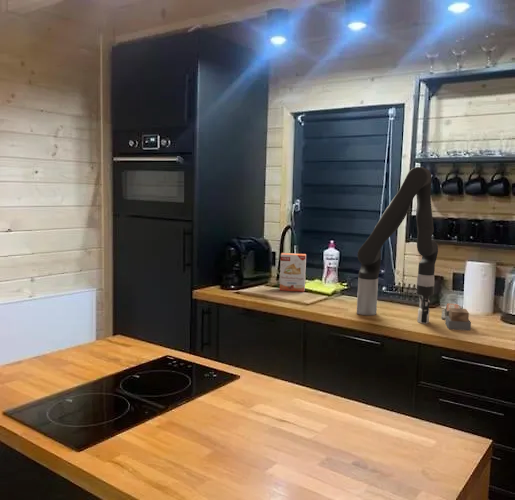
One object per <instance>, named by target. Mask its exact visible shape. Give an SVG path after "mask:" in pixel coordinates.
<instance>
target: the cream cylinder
mask: <svg viewBox="0 0 515 500" xmlns="http://www.w3.org/2000/svg"><path fill="white" fill-rule="evenodd" d="M424 311H426V310H424ZM430 311H431V310H430V308H429V311H428V312H429V313H428V315H427V322H426V323H423V322H422V321H421V319H422V309H421V308H418V309H417V321H416V322H417V323H418V324H424V325H427V324H429V323H430Z"/></svg>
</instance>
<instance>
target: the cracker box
mask: <svg viewBox="0 0 515 500" xmlns="http://www.w3.org/2000/svg"><path fill="white" fill-rule="evenodd" d="M306 266H307V254H306V253H292V252H291V253H289V252H281V253H280V266H279V268H280V269H279V271H280V272H279V291H287V292H288V291H289V292H300V293H301V292H302V293H304V292H305V290H306V270H307V269H306V268H307V267H306Z"/></svg>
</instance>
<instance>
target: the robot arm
mask: <svg viewBox="0 0 515 500" xmlns="http://www.w3.org/2000/svg"><path fill="white" fill-rule="evenodd" d="M431 191H432V173H431V171H430V170H429V169H428V168H426V167H421V166H416V167H415V166H414V167H413V168H411V169H410V170H409V171H408V172H407V174H406V177H405V178H404V180H403V182H402V184H401V185H400V188H399V190H398V192H397V193H396V195H395V196H394V197H393V198H392V200H391V201H390V203H389V204H388V206H387V207H386V208H385V210H384V212H383V213H382V215H381V217H380V219H379V220H378V222H377V223H376V225H375V226H374V229H373V231H372V232H371V233H370V235H369V236H368V238H367V239H366V240H365V242H364V243H363V244H362V245H361V246H360V247H359V249H358V251H357V254H356V255H357V260H358V262H359V263H361V265H360V269H359V271H358V274H357V275H358V276H357V278H358V281H357V294H356V295H357V296H356V297H357V299H356V314H357V315H362V316H375V315H377V308H378V287H379V274H380V271H381V261H382V252H381V249H382V247H383V245H384V244H385V242H386V241H387V240H388V239H389V238H390V237H392V235H393V234H394V233H395V232H396V231H397V230H398V229H399V228H400V226H401V225H402V223H403V221H404V220H405V219H406V217H407V214H408V212H409V210H410V206H411V204H412V201H413V200H414V198H415V196H416V210H415V211H416V212H415V213H416V214H415V216H416V218H415V219H416V227H417V234H416V235H417V236H416V237H417V238H416V248H417V252H418V254H419V255H420V256H421V260H420V261H419V262H418V266H417V267H418V269H417V277H416V290H415V291H416V292H415V293H416V294H417V295H419V304H418V305H419V306H418V307H419V308H421V309H422V319H421V321H422V322H423V323H426V322H427V315H428V313H429V314H430V312H428V311H429V309H430V302H431V301H430V298H429V297H430V296H433V295H435V294H434V293H435V292H434V291H435V269H436V267H435V266H436V262H437V257H438V255H439V245H438V243H437V242H436V240H434V239H433V238H432V237H433V236H432V235H433V233H434V232H435V231H434V230H435V229H434V218H433V209H432V197H431V195H432V192H431ZM424 310H426V311H424ZM423 323H422V324H423Z"/></svg>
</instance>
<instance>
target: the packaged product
mask: <svg viewBox="0 0 515 500" xmlns="http://www.w3.org/2000/svg"><path fill="white" fill-rule="evenodd" d="M449 308H457V309H462V306H461V305H460V304H459V303H451V302H450V303H446V306H445V308H441V316H440V317H441V320H442V321H443V320H444V321H446V316H449Z"/></svg>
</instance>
